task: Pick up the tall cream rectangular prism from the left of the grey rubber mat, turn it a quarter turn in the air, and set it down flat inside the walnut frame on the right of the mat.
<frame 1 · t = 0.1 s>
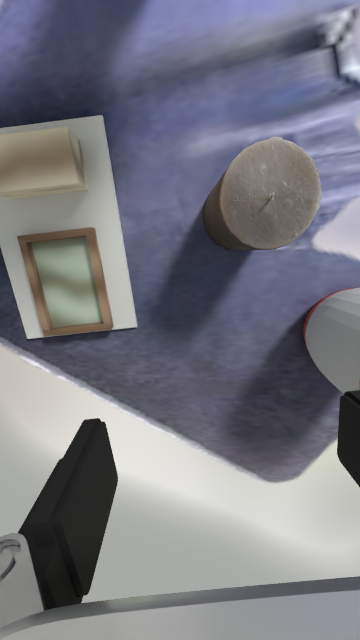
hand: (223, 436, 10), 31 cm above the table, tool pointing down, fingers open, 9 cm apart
mat: (62, 239, 38), on the table
pillar candle: (237, 215, 37), on the table
frame: (71, 283, 39), resting on mat
citrus juicer: (340, 321, 42), on the table
tall cream rectangular prism: (44, 170, 35), resting on mat
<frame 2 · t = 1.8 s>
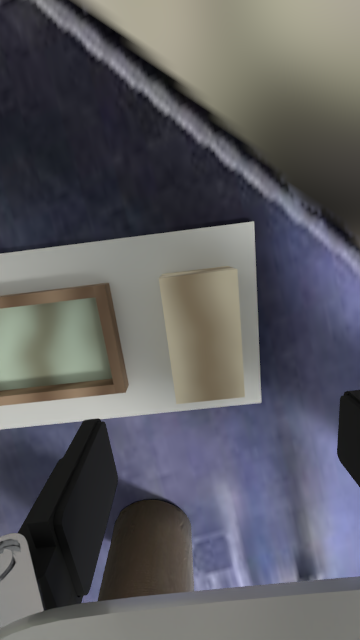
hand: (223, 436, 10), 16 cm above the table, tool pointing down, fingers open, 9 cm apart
mat: (110, 336, 25), on the table
pillar candle: (154, 526, 32), on the table
frame: (47, 343, 26), resting on mat
tall cream rectangular prism: (200, 327, 25), resting on mat
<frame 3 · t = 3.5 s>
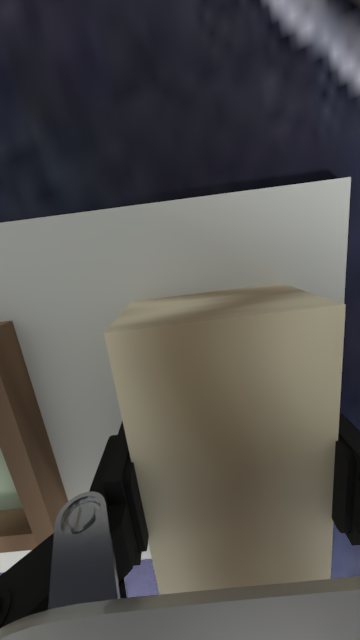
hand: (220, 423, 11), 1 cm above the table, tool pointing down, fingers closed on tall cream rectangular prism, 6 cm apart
mat: (30, 424, 12), on the table
tall cream rectangular prism: (217, 410, 12), resting on mat, touching gripper
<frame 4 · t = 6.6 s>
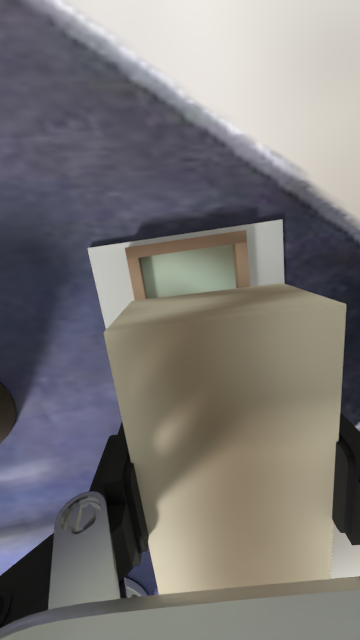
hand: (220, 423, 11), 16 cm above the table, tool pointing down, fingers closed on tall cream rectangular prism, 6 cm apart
mat: (201, 373, 28), on the table
frame: (194, 316, 26), resting on mat
tall cream rectangular prism: (217, 410, 12), point 15 cm above the table, touching gripper
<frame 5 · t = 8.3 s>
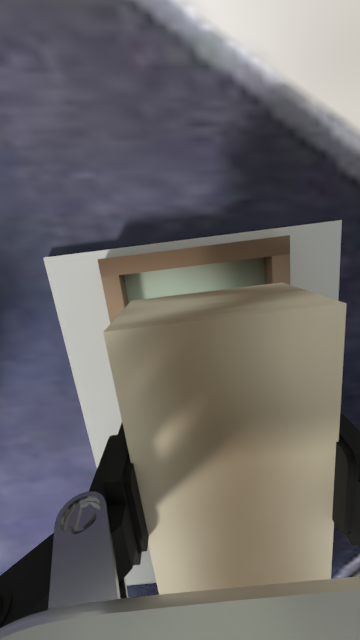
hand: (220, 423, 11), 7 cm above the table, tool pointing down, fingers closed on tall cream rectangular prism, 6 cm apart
mat: (210, 436, 20), on the table
frame: (202, 358, 18), resting on mat
tall cream rectangular prism: (217, 410, 12), point 6 cm above the table, touching gripper
when the fingers open (3 cm above the table, at t = 9.7 s): tall cream rectangular prism stays where it is, resting on frame.
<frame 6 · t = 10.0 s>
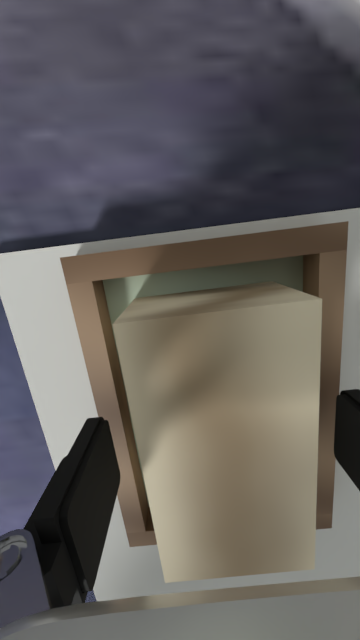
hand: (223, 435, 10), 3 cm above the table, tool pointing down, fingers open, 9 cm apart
mat: (221, 488, 15), on the table
frame: (212, 391, 13), resting on mat
tall cream rectangular prism: (213, 399, 13), point 1 cm above the table, touching frame
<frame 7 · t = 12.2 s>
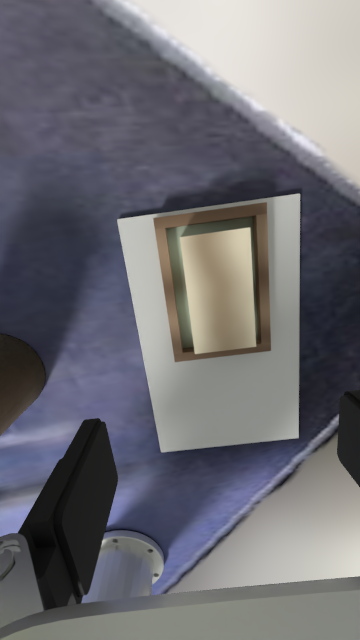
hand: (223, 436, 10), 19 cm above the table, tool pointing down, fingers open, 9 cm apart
mat: (219, 341, 30), on the table
pillar candle: (6, 370, 31), on the table
frame: (214, 286, 28), resting on mat
tall cream rectangular prism: (214, 287, 27), point 1 cm above the table, touching frame
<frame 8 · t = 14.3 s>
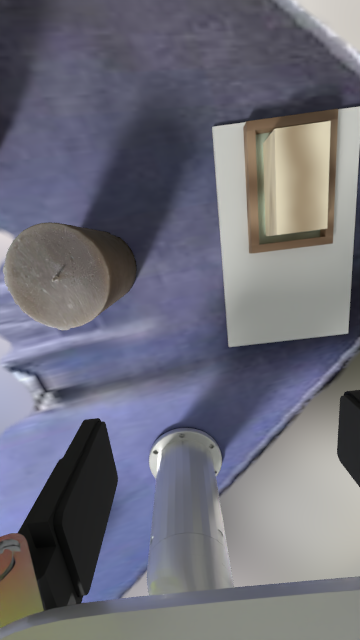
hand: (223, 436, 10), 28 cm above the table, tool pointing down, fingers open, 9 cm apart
mat: (286, 241, 35), on the table
pillar candle: (102, 267, 36), on the table
frame: (285, 189, 33), resting on mat
tall cream rectangular prism: (287, 188, 33), point 1 cm above the table, touching frame
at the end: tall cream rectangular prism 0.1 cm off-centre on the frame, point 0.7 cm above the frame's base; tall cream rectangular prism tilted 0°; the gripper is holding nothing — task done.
